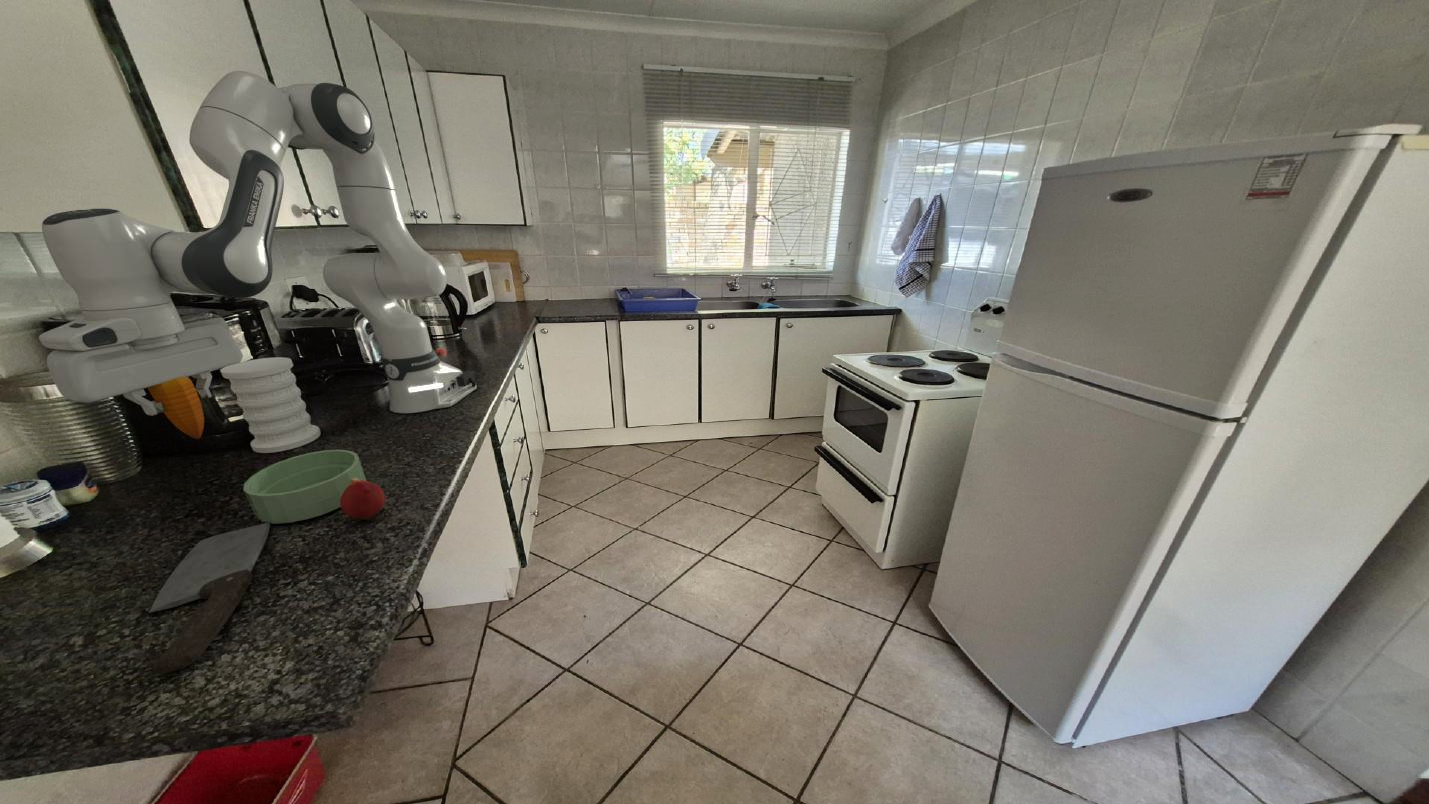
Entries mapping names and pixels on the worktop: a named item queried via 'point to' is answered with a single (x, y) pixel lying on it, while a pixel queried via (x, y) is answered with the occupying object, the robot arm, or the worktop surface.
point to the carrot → (181, 405)
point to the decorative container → (271, 404)
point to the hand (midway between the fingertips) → (180, 406)
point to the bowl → (302, 486)
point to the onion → (362, 499)
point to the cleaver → (208, 590)
